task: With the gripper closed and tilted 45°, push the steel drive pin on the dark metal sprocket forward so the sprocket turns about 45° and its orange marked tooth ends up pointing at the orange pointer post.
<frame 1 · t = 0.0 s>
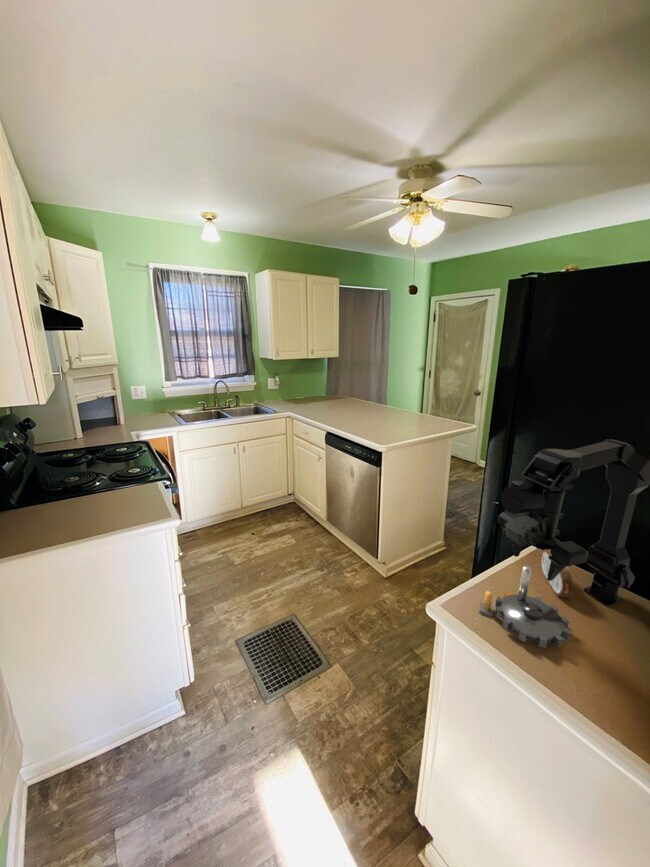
hand: (532, 567, 83), 15 cm above the table, tool pointing down, fingers open, 9 cm apart
sprocket: (534, 602, 83), point 7 cm above the table, hinge at 0.0°
index pointer: (486, 611, 89), on the table
tin: (552, 585, 100), on the table
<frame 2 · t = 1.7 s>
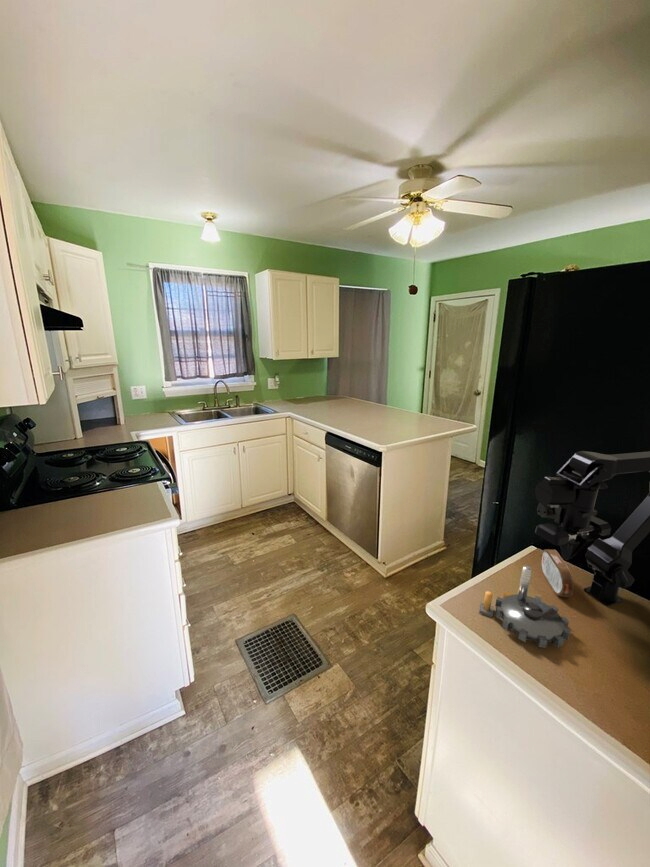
hand: (566, 558, 91), 12 cm above the table, tool pointing down, fingers closed
nothing on the table moved.
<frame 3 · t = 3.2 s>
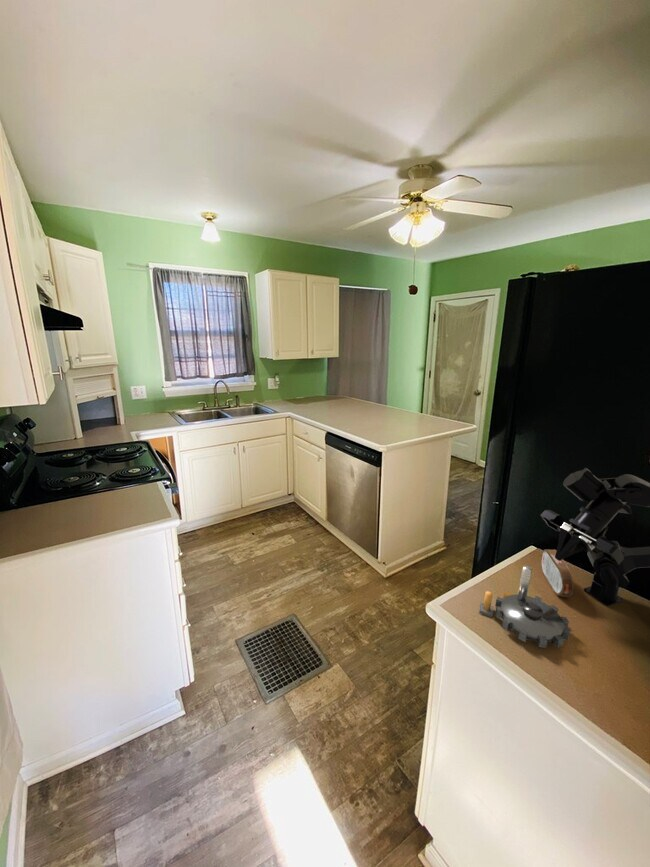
hand: (556, 559, 90), 13 cm above the table, tool tilted 45°, fingers closed
nothing on the table moved.
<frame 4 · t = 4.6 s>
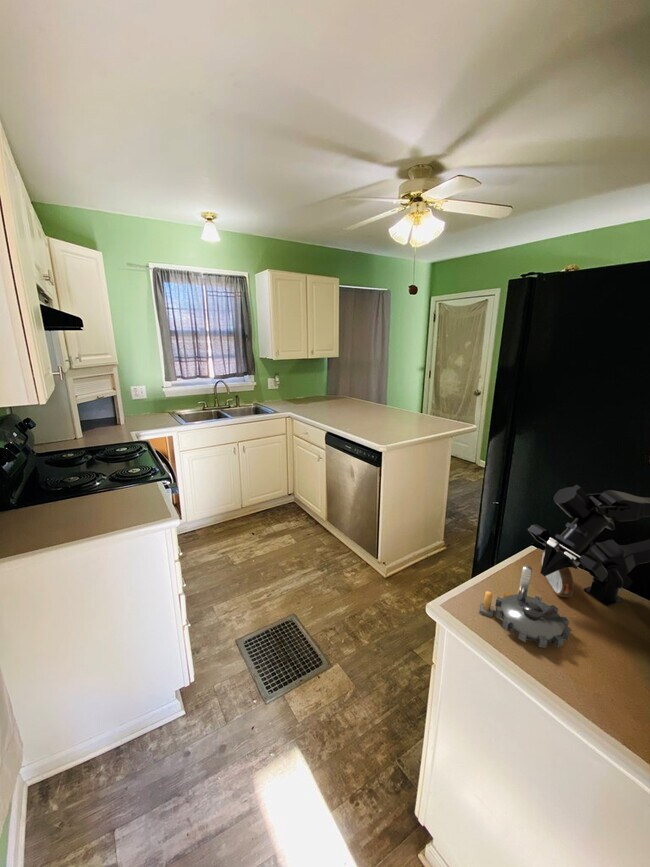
hand: (542, 574, 91), 8 cm above the table, tool tilted 45°, fingers closed
nothing on the table moved.
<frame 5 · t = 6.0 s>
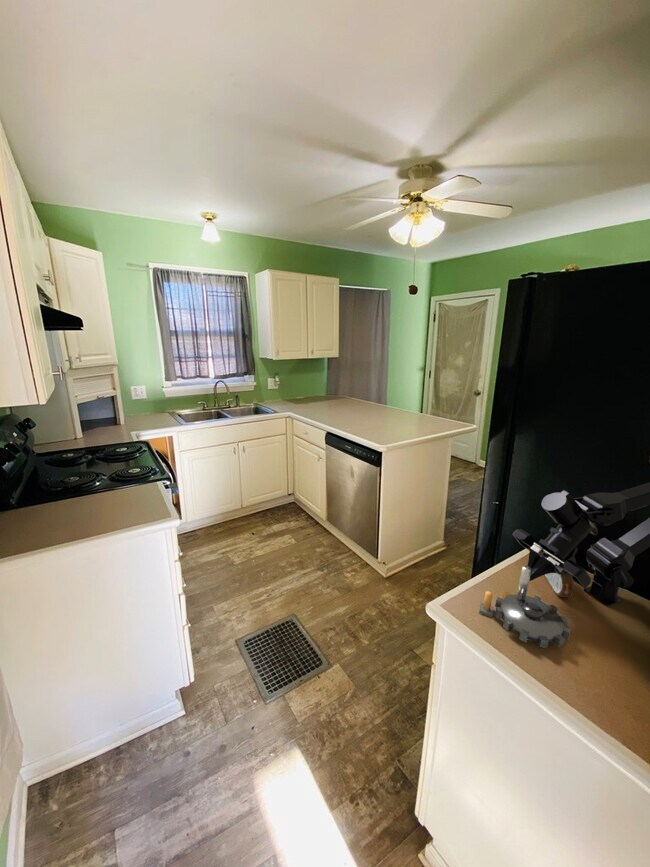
hand: (525, 580, 89), 8 cm above the table, tool tilted 45°, fingers closed
sprocket: (534, 602, 83), point 7 cm above the table, hinge at 1.6°, touching gripper
everything else where it was.
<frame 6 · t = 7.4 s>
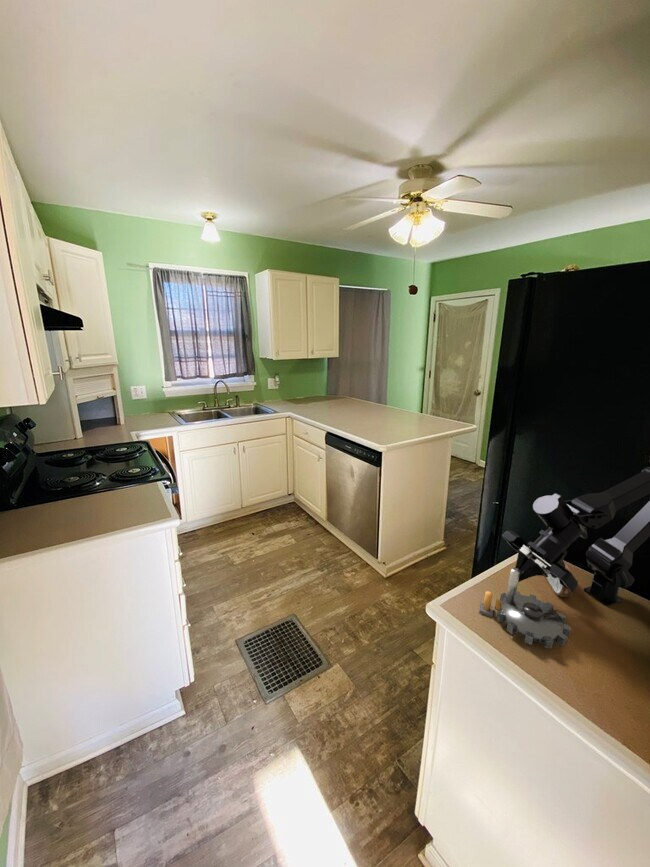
hand: (512, 582, 88), 8 cm above the table, tool tilted 45°, fingers closed
sprocket: (534, 602, 83), point 7 cm above the table, hinge at 39.3°, touching gripper
everything else where it was.
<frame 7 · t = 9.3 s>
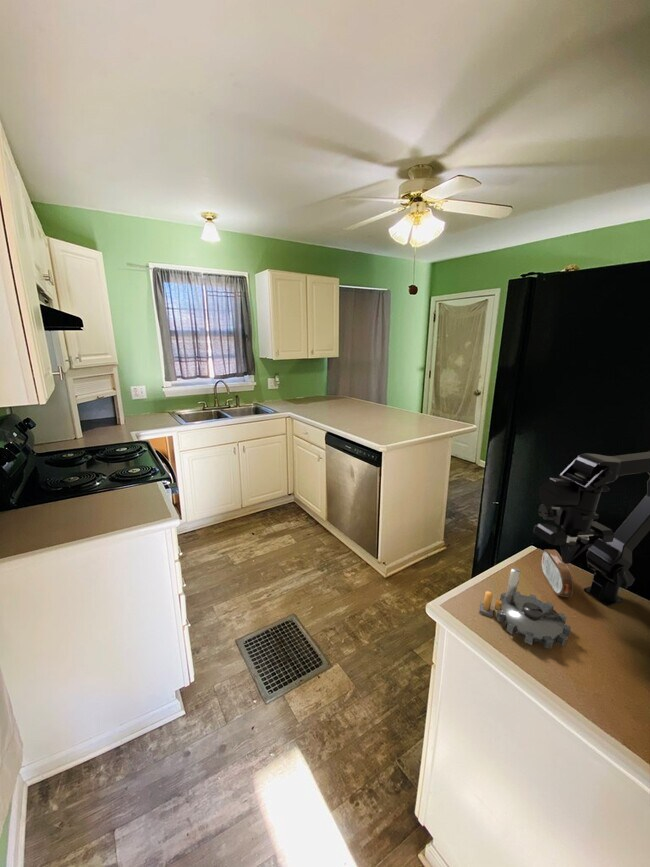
hand: (565, 562, 90), 12 cm above the table, tool pointing down, fingers closed
sprocket: (534, 602, 83), point 7 cm above the table, hinge at 39.3°
everything else where it was.
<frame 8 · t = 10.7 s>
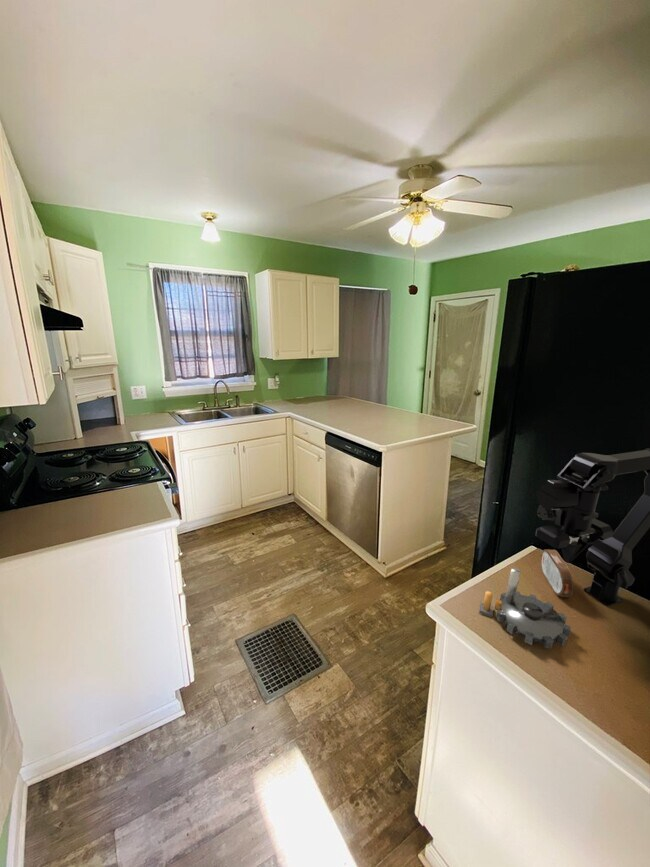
hand: (567, 561, 90), 12 cm above the table, tool pointing down, fingers closed
nothing on the table moved.
at the end: sprocket at +39° (first picture: +0°); tin moved 0.3 cm from its start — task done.
